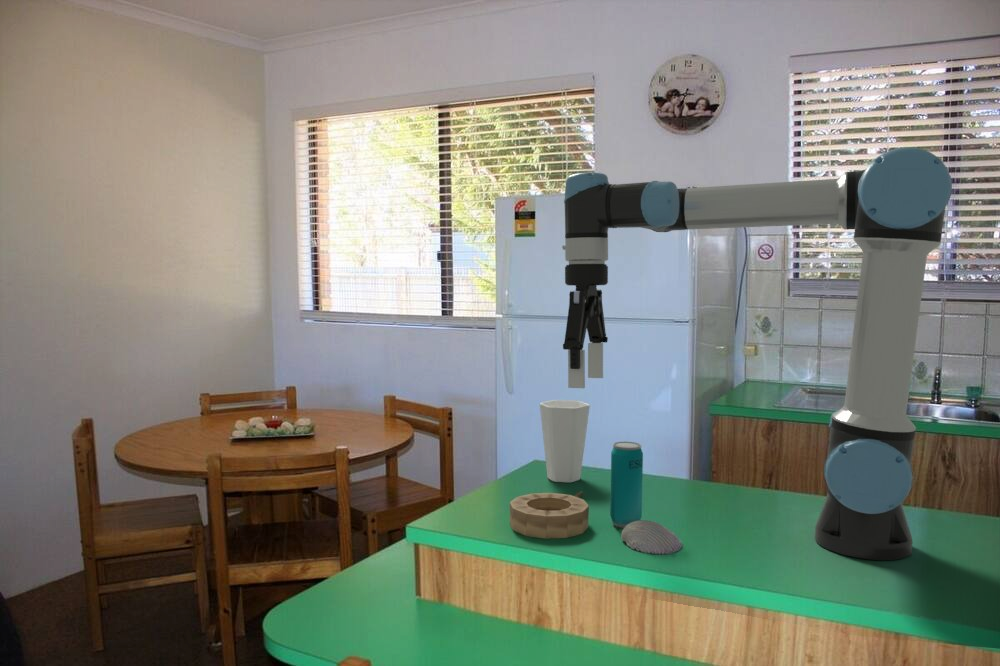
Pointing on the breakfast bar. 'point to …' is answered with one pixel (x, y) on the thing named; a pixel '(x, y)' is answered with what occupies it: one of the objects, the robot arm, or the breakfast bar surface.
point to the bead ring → (549, 515)
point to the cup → (564, 438)
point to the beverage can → (626, 483)
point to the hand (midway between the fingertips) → (586, 382)
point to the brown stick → (578, 495)
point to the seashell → (650, 537)
